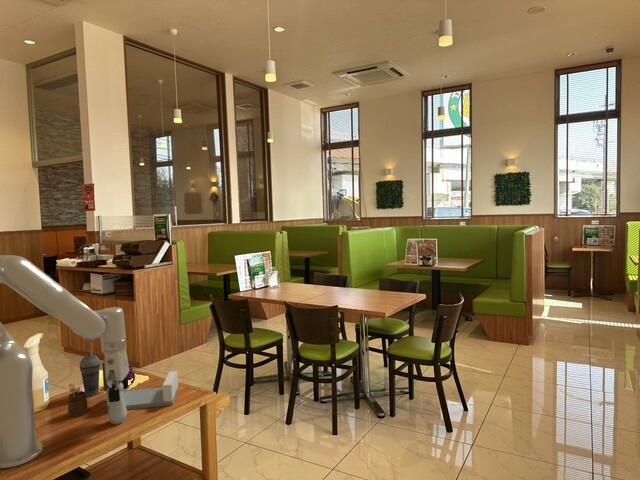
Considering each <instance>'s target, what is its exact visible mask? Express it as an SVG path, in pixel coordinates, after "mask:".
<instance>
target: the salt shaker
mask: <svg viewBox="0 0 640 480" xmlns="http://www.w3.org/2000/svg"><path fill="white" fill-rule="evenodd" d="M113 384H114V385H115V383H113ZM118 389H119V394H120V400H119V401H116V402H110V407H109V411H108V414H107V418H108V420H109V421H110V423H111V425H119V424H123V423H125V421H126V418H127V416H128V410H127V409H126V405H125V402H124V398H123V394H122V390H123V384H122V383H121V382H118Z"/></svg>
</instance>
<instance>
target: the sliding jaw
mask: <svg viewBox="0 0 640 480" xmlns="http://www.w3.org/2000/svg"><path fill="white" fill-rule="evenodd" d="M103 359H104V361H103V362H102V364H101V365H102V366H101V367H102V381H103V391H106V392H105V393H106V395H105V396H106V406H107V407H108V406H110V402H109V396H108V387H107V381H106V375H105V355H104V357H103ZM113 380H116V379H113ZM126 391H128V388H127V389H123V390H122V394H123V395H124V394H125V392H126Z"/></svg>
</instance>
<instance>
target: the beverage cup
mask: <svg viewBox="0 0 640 480" xmlns="http://www.w3.org/2000/svg"><path fill="white" fill-rule="evenodd" d="M100 368H101V361H100V358H99V357H98V356H97V355H96V354H93V343H90V353H89V354H87V355H85V356H83V357H82V358H81V360H80V362H79V369H80V373H81V378H82V380H81V381H82V382H83V383H82V387H83V391H84V392H85V394H86V395H85V397H86V398H87V397H94V396H97V395H98V394H99V389H100Z"/></svg>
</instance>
